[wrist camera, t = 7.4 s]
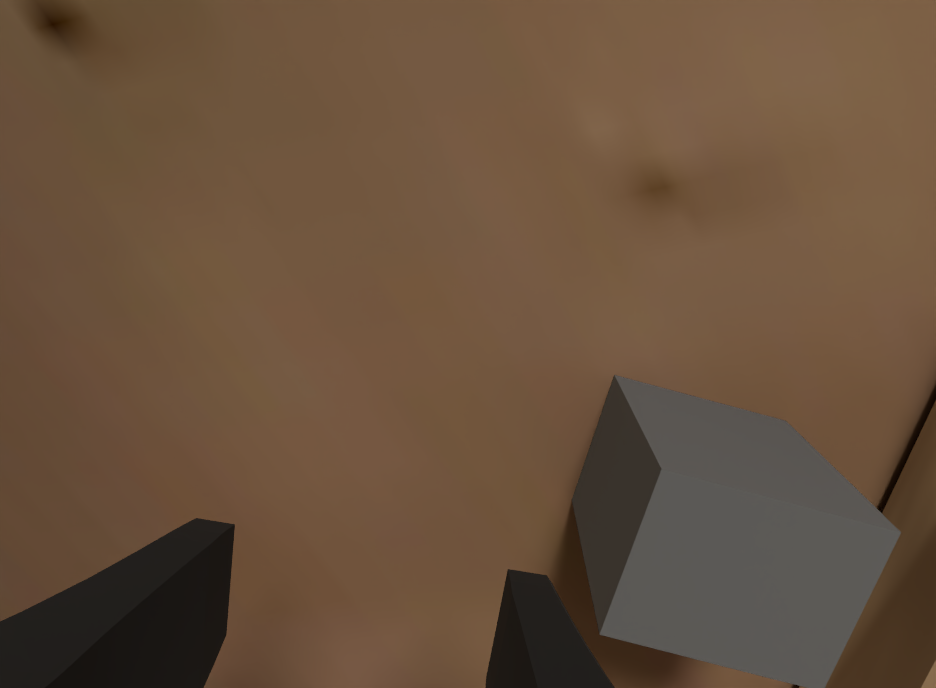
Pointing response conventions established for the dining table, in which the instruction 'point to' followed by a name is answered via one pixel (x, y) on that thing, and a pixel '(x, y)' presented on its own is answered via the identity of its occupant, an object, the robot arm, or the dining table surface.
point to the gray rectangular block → (723, 536)
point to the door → (901, 588)
